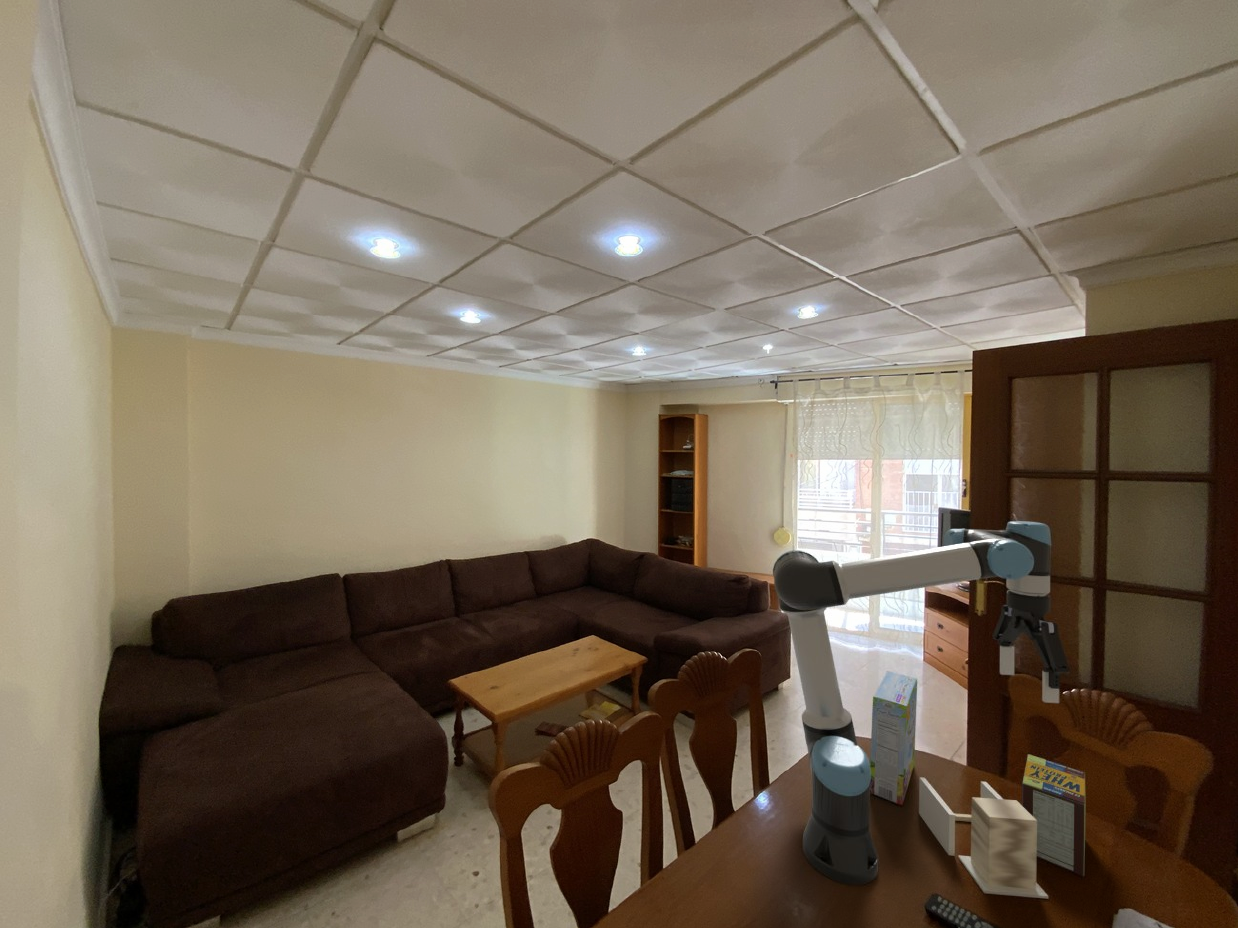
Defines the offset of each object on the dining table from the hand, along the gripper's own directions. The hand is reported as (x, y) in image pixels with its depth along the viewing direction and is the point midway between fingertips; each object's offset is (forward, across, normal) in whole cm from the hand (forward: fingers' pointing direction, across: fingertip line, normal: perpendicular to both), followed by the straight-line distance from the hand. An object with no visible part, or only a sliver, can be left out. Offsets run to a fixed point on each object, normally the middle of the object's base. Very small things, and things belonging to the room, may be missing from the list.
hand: (1027, 687), depth 110 cm
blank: (+36, -8, +10) cm, 38 cm away
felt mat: (+37, -8, +10) cm, 39 cm away
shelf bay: (+37, +4, +10) cm, 38 cm away
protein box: (+37, +4, -8) cm, 38 cm away
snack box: (+37, +23, +18) cm, 47 cm away
